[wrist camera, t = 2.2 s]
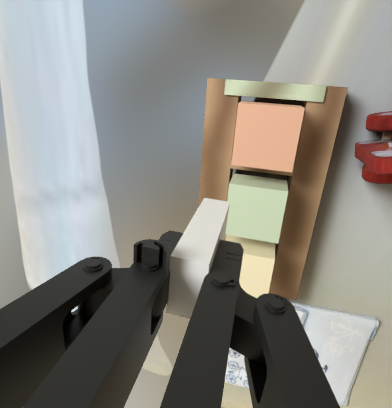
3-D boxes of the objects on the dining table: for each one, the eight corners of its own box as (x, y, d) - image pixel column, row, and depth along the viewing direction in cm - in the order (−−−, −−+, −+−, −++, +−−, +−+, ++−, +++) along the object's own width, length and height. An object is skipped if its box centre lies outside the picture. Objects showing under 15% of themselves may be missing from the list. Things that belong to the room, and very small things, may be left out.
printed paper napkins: (235, 286, 45) (233, 295, 43) (381, 315, 40) (387, 327, 38) (223, 374, 52) (221, 385, 50) (346, 406, 48) (349, 420, 46)
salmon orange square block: (301, 105, 30) (304, 108, 26) (290, 162, 32) (292, 172, 29) (242, 101, 31) (238, 102, 28) (235, 156, 34) (231, 164, 30)
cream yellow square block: (275, 242, 36) (275, 259, 33) (267, 282, 38) (266, 302, 35) (226, 233, 37) (221, 249, 34) (222, 273, 40) (216, 291, 36)
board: (341, 87, 31) (348, 87, 28) (294, 286, 41) (296, 301, 38) (212, 78, 34) (206, 78, 31) (198, 266, 44) (192, 279, 41)
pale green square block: (286, 180, 33) (288, 191, 30) (277, 227, 35) (278, 243, 32) (233, 173, 34) (229, 183, 31) (228, 219, 37) (223, 234, 33)
